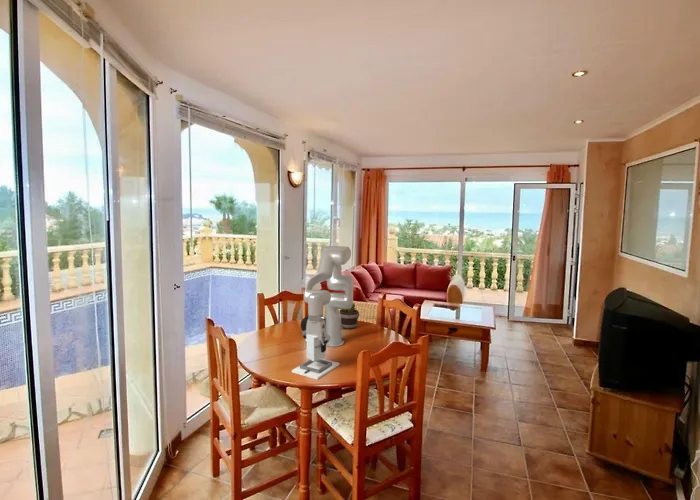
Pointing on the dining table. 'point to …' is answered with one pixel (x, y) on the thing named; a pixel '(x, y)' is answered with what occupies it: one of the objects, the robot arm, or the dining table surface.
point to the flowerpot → (349, 317)
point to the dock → (315, 368)
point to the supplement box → (314, 348)
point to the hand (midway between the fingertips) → (315, 349)
